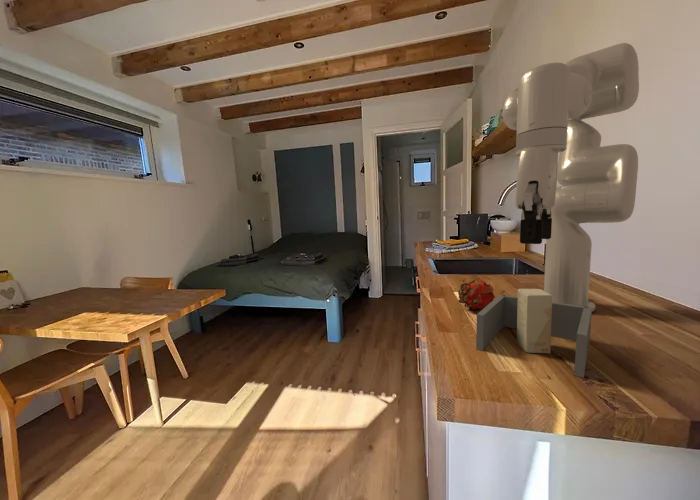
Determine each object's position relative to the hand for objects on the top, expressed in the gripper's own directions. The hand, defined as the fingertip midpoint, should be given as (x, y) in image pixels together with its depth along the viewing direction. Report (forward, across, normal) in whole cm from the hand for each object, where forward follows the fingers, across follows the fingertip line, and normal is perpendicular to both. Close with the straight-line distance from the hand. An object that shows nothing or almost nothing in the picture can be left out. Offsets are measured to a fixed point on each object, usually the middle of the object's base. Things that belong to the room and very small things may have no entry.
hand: (536, 241), depth 54 cm
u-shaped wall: (+21, -2, 0) cm, 21 cm away
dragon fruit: (+21, -18, -16) cm, 32 cm away
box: (+21, -1, 0) cm, 21 cm away
